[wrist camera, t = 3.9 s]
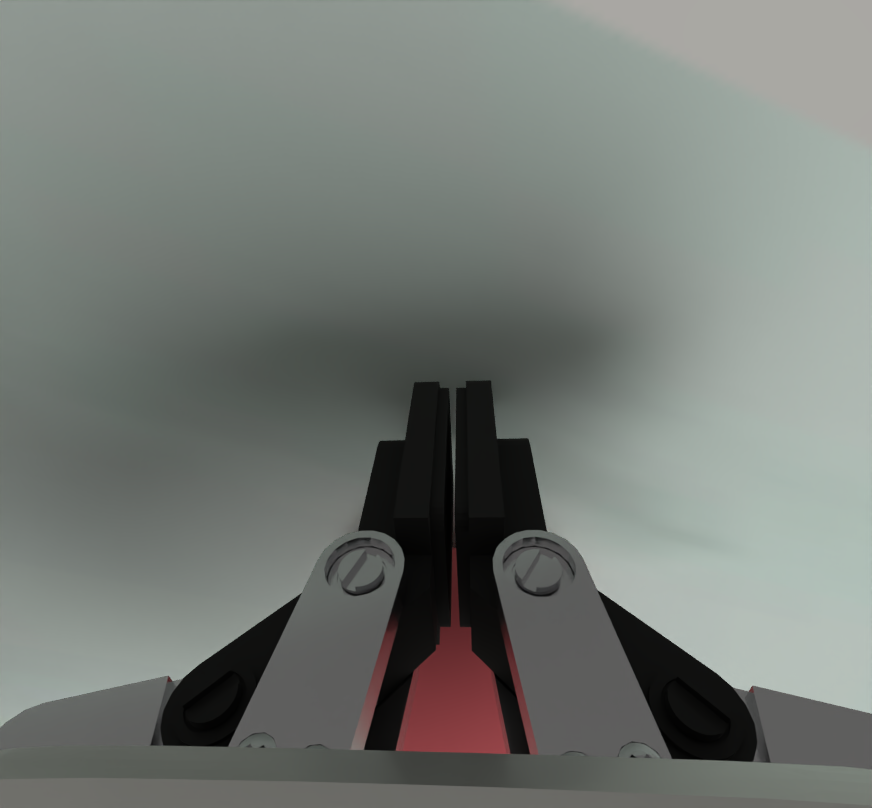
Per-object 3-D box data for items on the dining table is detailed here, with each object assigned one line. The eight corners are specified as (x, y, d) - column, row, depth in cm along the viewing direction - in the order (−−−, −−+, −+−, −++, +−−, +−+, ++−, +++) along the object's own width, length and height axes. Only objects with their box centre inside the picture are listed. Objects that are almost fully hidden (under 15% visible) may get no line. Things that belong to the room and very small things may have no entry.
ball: (543, 625, 17) (577, 847, 12) (376, 621, 17) (342, 836, 12) (563, 504, 14) (620, 742, 9) (356, 502, 14) (299, 730, 9)
